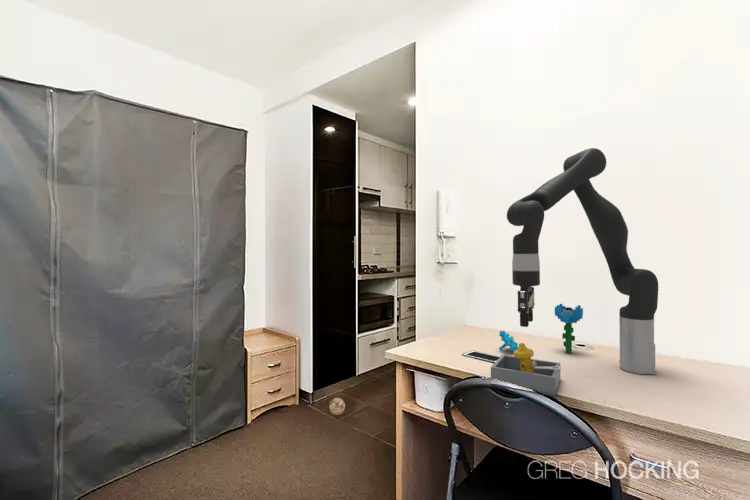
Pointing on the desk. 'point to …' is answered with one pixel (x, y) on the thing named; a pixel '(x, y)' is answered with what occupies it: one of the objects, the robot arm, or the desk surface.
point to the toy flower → (568, 322)
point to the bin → (527, 374)
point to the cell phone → (481, 356)
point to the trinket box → (337, 406)
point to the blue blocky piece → (508, 341)
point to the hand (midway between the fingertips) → (526, 323)
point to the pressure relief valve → (528, 359)
